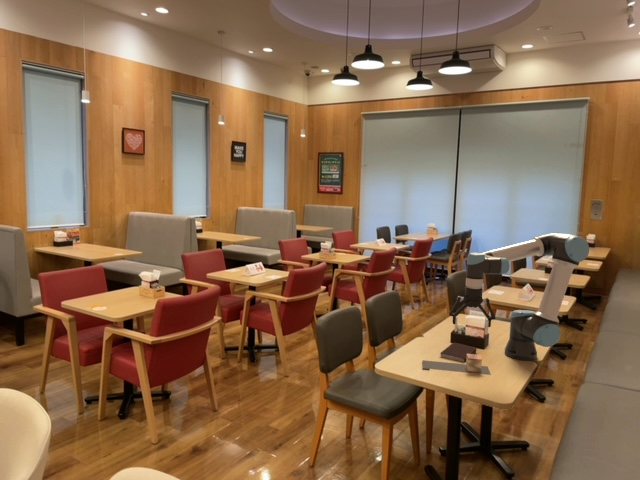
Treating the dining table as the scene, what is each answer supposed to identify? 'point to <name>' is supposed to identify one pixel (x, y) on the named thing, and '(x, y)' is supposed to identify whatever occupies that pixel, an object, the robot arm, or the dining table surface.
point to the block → (473, 362)
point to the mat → (452, 367)
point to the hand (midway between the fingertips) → (470, 332)
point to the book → (458, 352)
